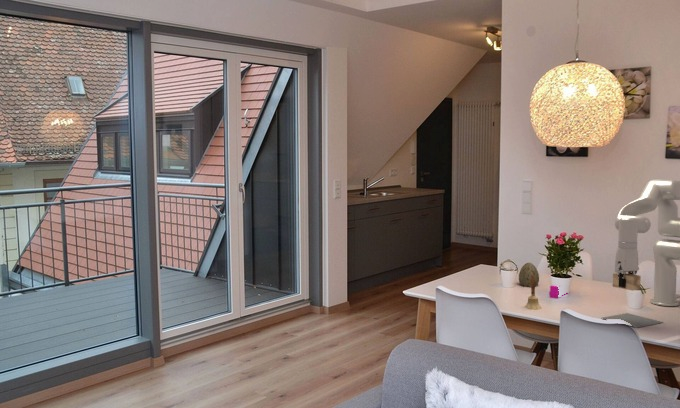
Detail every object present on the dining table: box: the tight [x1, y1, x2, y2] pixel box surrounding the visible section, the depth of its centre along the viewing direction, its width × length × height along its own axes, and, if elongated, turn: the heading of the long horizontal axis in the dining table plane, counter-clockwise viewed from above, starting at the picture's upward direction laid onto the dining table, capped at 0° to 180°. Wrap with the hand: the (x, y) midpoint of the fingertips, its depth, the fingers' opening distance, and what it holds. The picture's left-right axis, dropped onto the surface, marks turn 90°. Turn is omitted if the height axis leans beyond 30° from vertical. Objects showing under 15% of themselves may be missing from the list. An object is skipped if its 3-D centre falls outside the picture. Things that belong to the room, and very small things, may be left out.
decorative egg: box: [518, 262, 540, 288], centre depth 340 cm, size 11×11×15 cm
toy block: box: [548, 285, 559, 299], centre depth 319 cm, size 15×6×8 cm, turn 137°
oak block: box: [612, 272, 642, 291], centre depth 270 cm, size 5×10×6 cm, turn 28°
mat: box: [602, 312, 664, 329], centre depth 273 cm, size 18×18×1 cm
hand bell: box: [524, 276, 543, 310], centre depth 297 cm, size 8×8×16 cm
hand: (626, 286), depth 270 cm, fingers closed on oak block, 5 cm apart
